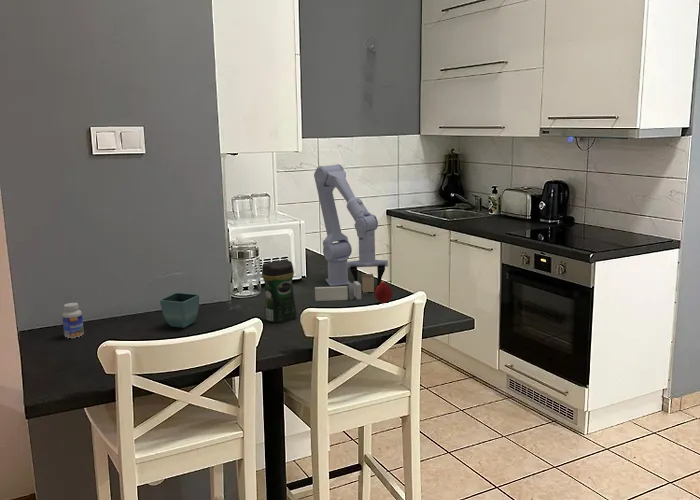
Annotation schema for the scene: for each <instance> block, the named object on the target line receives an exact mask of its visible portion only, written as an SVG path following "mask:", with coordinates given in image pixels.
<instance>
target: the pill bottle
mask: <svg viewBox="0 0 700 500" xmlns="http://www.w3.org/2000/svg"><path fill="white" fill-rule="evenodd" d="M79 307H80V305H79V303H78V302H69V303H65V304H64V305H63V310H64V311H63V312H62V314H61V316H62V319H61V320H62V324H63V327H62V328H63V334H64V337H65V338H66V337H67V338H66V339H69V338H71V339H77V338H76V337H78V338H81V337H83V336H84V335H85V329H84V321H83V313H82V311H81V309H79ZM83 334H84V335H83ZM82 335H83V336H82ZM80 336H81V337H80Z"/></svg>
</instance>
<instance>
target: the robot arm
mask: <svg viewBox="0 0 700 500" xmlns="http://www.w3.org/2000/svg"><path fill="white" fill-rule="evenodd" d="M346 176H347V172H346V171H345V169H344V167H343V166H342V165H341V164H339V163H338V164H333V165H332V164H331V165H323V166H322V165H319V166H317V167H316V169H315V172H314V174H313V178H314V182H315V186H316V190H317V195H318V201H319V204H320V208H321V213H322V218H323V223H324V227H325V231H326V237H325V238H324V240H323V241H322V254H323V256H324V258H325V260H326V261H327V277H328V278H325V281H326V283H327V284H328V285H329V287H337V286H348V284H349V283H351V281H350V280H349V272H348V269H350V270H349V271H350V272H351V274H352V276H353V279H354V281H358V282H359V279H358V268H370V267H371V268H374V267H376V269H377V282H376V283H377V285H376V286H378V285H379V284H381V281H382V278H383V275H384V273H385V271H386V267H389V261H388V259H386V260H385V259H376V237H375V234H376V233H375V232H376V230H377V229H378V227H379V221H378V219H377V216H376V215H375V214H373V213H371V212H369V210H368V209H367V207H366V206H365V205H364V202H363V200H362V199H361V198H359V197H356V196H355V194H354V192H353V190H352V188H351V186H350V184H349V182H348V181H347V177H346ZM334 189H337V190H338V192H339V193H340V194H341V196H342V198H343V199H344V200H345V202H346V208H347V211H348V212H349V214H350V215H351V217H352V218H353V220H354V222H355V223H354V224H353V225H354V228H355V229H354V230H355V231H356V236H357V237H358V260H352V261H348V260H349V259H350V257H351V255H352V245H351V244H350V242H349V238H348V236H346V234H344V233H343V232H342V229H341V225H340V220H339V215H338V211H337V207H336V203H335V197H334V193H333V192H334Z"/></svg>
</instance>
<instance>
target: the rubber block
mask: <svg viewBox="0 0 700 500" xmlns="http://www.w3.org/2000/svg"><path fill="white" fill-rule="evenodd" d="M362 291H363V292H362ZM361 292H362V293H363V294H365V293H364V292H374V293H375V277H374V274H373V273H364V274H363V273H362V274H361Z"/></svg>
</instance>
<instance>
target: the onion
mask: <svg viewBox="0 0 700 500" xmlns="http://www.w3.org/2000/svg"><path fill="white" fill-rule="evenodd" d="M376 286H377V285H376ZM374 297H375V299H376V300H377V301H378V302H379V303H380V304H382V303H385V304H386V303H388V302H389V301H390V300H391V299H392V298H393V290H392V287H391V286H390V285H389V284H388V283H386V282H385V281H384V280H381V282H380V284H379V285H378V286H377V287H376V288H374Z"/></svg>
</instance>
